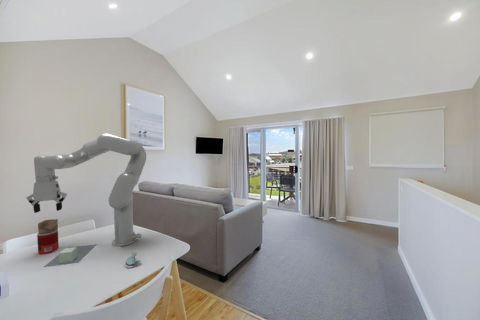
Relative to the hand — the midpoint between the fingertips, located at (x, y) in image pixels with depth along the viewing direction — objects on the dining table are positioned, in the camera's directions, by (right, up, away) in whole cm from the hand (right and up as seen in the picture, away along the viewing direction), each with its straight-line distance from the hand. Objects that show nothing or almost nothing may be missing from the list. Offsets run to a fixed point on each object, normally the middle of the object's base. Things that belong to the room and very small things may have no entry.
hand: (48, 211), depth 106 cm
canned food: (0, -22, +1) cm, 22 cm away
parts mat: (+16, -22, -4) cm, 27 cm away
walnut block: (0, -11, 0) cm, 11 cm away
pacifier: (+51, -22, -13) cm, 57 cm away
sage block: (+19, -22, -9) cm, 30 cm away
